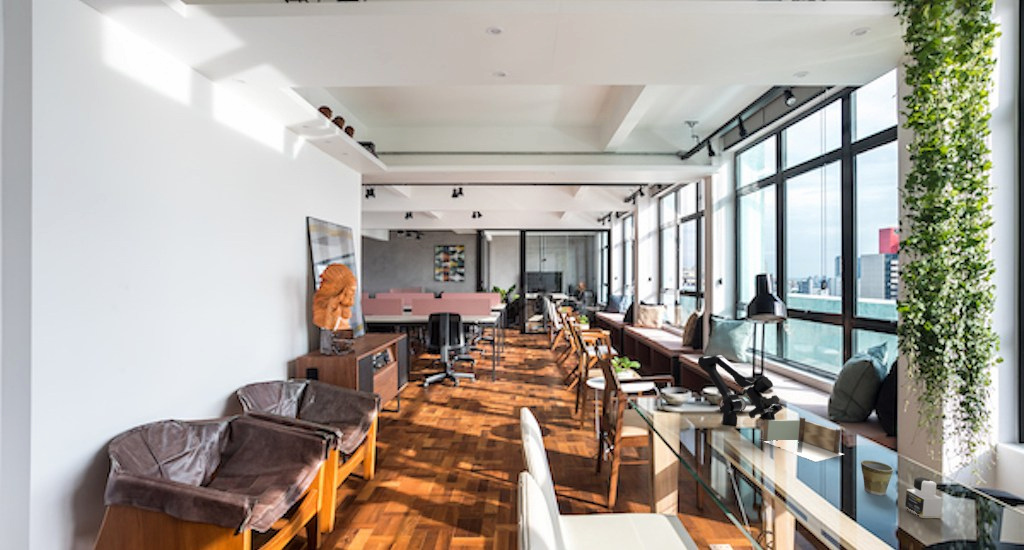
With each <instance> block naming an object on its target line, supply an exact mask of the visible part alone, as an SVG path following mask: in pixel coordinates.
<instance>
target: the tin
mask: <svg viewBox="0 0 1024 550" xmlns="http://www.w3.org/2000/svg"><path fill="white" fill-rule="evenodd" d="M739 398H740V399H741V400H742V401H741V402H742V408H741V410H743V411H744V410H745V409H746V407H747V401H746V399H745V398H743V397H742V396H739ZM723 405H724V404H723V397H722V395H721V396H720V397H718V400H717V406H718V407H719V408H720V407H722V406H723Z"/></svg>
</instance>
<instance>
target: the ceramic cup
mask: <svg viewBox="0 0 1024 550" xmlns="http://www.w3.org/2000/svg"><path fill="white" fill-rule="evenodd" d="M860 465H861V466H860V468H861V472H862V478H863V487H864V491H866V492H868V493H869V494H872V495H877V496H886V494H887V490H888V486H889V484H890V481H891V478H892V476H893V472H894V468H893V467H892V466H891V465H889V464H886V463H884V462H880V461H876V460H871V459H870V460H869V459H868V460H867V459H866V460H861V461H860Z"/></svg>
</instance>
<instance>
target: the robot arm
mask: <svg viewBox="0 0 1024 550" xmlns="http://www.w3.org/2000/svg"><path fill="white" fill-rule="evenodd" d="M697 361H698V362H697V365H698V366H699V367H700V369H701V370H702V371H703V372H705V373H707V375H708V376H709V377H710V379H711V381H712V382H713V384H714V386H715V387H716V389H717V390H718V392H719V394H720V395H721V396H722V397H723V404H724V405H723V406H722V407H719V411H720V413H722V415H721V416H722V417H721V424H722V425H723V426H727V427H728V426H729V427H737V425H738V416H737V414H739V413H740V412H739V411H740V410H741V408H742V402H741V401H742V400H741V399H740V398H739V397H740V396H739V395H738V393H735V394H734V393H732V392H731V390H730V389H729V387H728V385H727V384H726V382H725V381H724V379H723V377H722V376H721V374H720V373H719V371H718V370H717V365H718V366H719V367H720V368H722V370H724V371H725V372H727V374H729V375H730V376H731V377H732V378H733V379H734V382H735V383H736V384H737V385H738V386H739V387H740V388H742V389H743V390H742V391H743V392H742V395H743V396H745V395H747V397H748V398H749V399H750V402H751V403H750V404H751V406H754V408H753V409H751V410H750V411H749V412H748V416H749V418H750V419H754V418H756V415H759V417H758V419H760V420H762V421H764V419H767V420H776V416H775V415H776V414H777V413H779V412H780V411H782V410H783V409H784V408H783V406H782V405H781V404H780V400H781V399H780V398H779V396H777V395H772V396H771V397H767V396H763V394H764V393H766V392H768V391H769V390H770V389H772V388H773V387H774V383H773V382H772V380H770V379H769V378H767V377H766V376H765V375H764V374H763V375H760V376H759V377H758V378H757V379H756V378H754V377H753V376H752V375H751V374H749V373H747V372H745V371H742V370H740V369H739V368H737V367H736V366H735V365H734V364H733V363H731V362H730V361H729V360H728V359H726V358H725V357H724V356H723V355H721V354H720V355H713V356H710V355H707V356H706V355H705V356H700V357H698V360H697Z"/></svg>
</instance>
